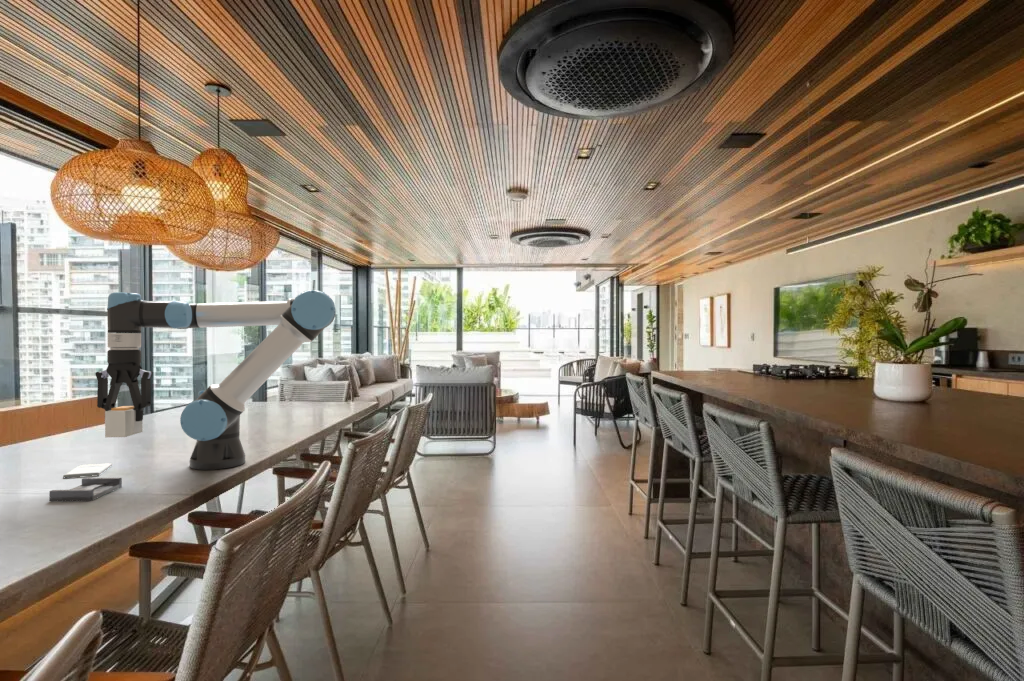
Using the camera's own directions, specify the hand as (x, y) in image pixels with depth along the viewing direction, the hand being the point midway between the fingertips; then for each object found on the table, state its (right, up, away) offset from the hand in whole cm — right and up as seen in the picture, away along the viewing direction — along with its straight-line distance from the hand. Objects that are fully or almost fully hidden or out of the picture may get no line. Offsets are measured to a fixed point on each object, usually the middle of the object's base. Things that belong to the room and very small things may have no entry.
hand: (124, 433), depth 146 cm
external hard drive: (-15, -13, +7) cm, 22 cm away
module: (0, 0, 0) cm, 0 cm away
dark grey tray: (+1, -13, -14) cm, 19 cm away
